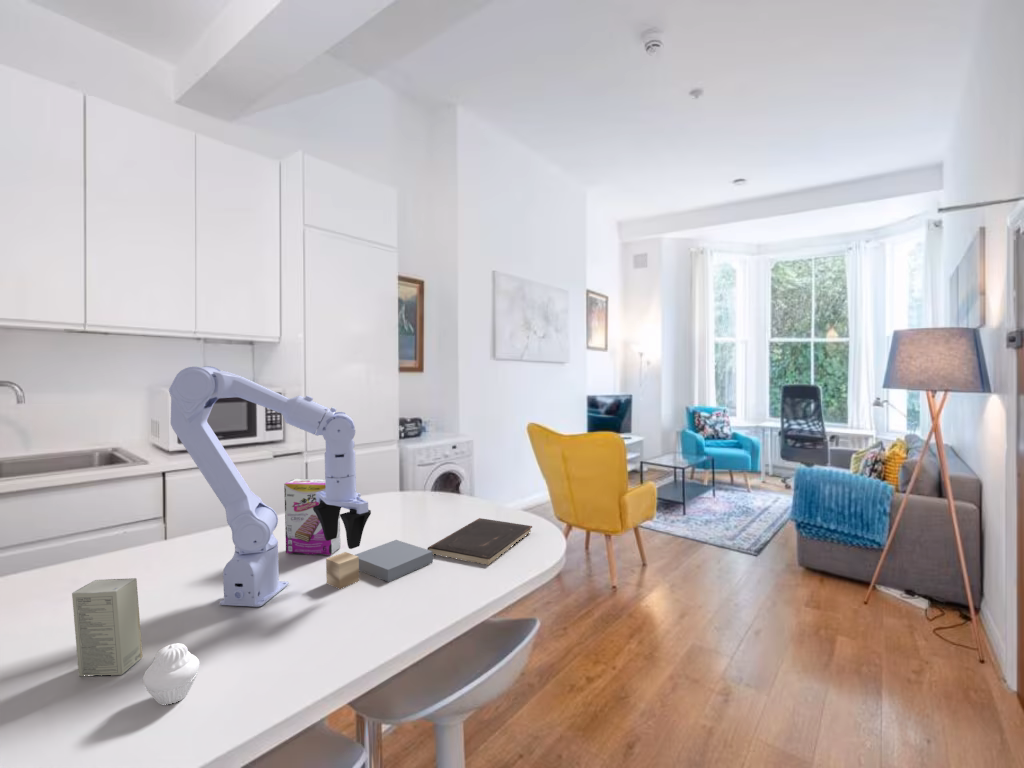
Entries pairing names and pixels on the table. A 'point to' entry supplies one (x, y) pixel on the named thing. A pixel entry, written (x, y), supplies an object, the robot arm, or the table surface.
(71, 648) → the table surface
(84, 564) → the table surface
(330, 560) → the oak block
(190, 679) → the muffin
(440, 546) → the hardcover book
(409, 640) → the table surface
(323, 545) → the candy bar box
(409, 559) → the slate base
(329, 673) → the table surface
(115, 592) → the skincare box
